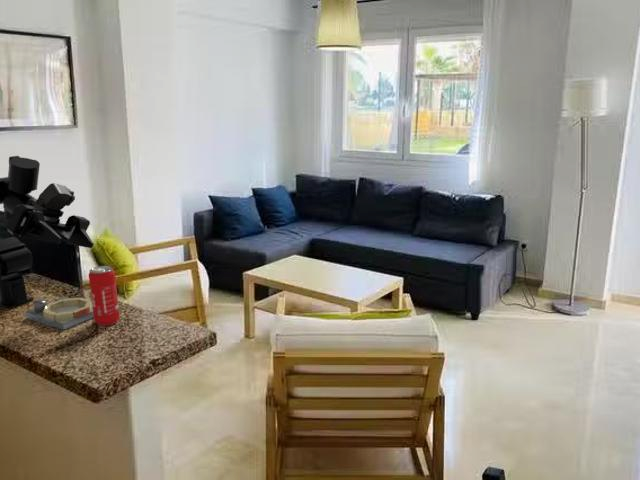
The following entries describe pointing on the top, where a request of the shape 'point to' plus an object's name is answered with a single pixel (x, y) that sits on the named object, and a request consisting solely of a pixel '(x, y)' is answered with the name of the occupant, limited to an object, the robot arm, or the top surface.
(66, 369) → the top surface
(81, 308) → the grey plate with ring
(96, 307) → the beverage can
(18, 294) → the robot arm
